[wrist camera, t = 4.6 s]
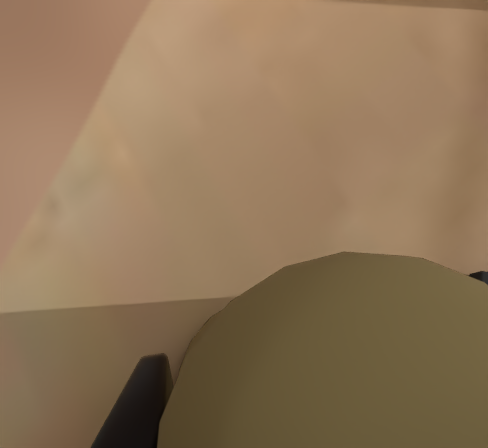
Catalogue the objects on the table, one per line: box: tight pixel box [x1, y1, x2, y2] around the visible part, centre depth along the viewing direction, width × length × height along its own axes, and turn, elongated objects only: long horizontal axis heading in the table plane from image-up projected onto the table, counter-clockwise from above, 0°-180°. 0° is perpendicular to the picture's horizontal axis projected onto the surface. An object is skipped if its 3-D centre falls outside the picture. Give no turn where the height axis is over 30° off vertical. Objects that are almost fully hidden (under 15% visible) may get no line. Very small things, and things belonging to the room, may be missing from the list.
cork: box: [157, 252, 488, 448], centre depth 9 cm, size 6×6×11 cm
